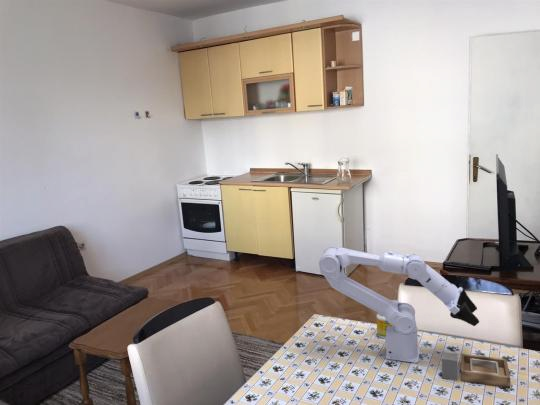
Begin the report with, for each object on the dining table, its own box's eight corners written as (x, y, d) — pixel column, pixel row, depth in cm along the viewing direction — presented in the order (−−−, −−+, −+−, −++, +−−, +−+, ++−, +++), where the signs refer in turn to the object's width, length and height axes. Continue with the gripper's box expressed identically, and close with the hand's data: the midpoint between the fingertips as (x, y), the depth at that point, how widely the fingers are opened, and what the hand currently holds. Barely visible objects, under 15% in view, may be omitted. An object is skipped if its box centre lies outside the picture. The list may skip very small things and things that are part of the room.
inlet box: (461, 381, 125) (461, 371, 124) (461, 362, 134) (461, 353, 133) (510, 388, 120) (510, 378, 119) (506, 368, 129) (506, 359, 128)
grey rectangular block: (442, 378, 126) (442, 359, 125) (442, 371, 130) (442, 352, 129) (457, 380, 125) (457, 361, 124) (457, 373, 129) (457, 353, 127)
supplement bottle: (384, 329, 157) (383, 304, 156) (396, 335, 153) (395, 308, 151) (373, 334, 154) (372, 308, 153) (385, 340, 150) (384, 313, 148)
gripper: (449, 289, 125) (488, 321, 124) (448, 267, 138) (483, 297, 137) (431, 304, 128) (469, 336, 127) (432, 282, 141) (466, 311, 140)
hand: (475, 316), depth 132 cm, fingers open, 7 cm apart
